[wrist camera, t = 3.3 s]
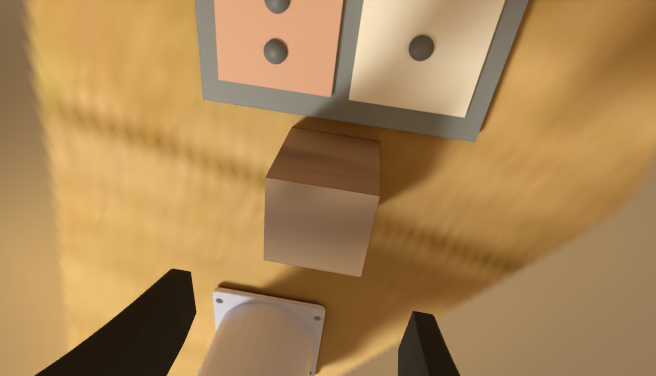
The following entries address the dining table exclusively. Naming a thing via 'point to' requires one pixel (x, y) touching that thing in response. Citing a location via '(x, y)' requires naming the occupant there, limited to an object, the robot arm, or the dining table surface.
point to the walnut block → (322, 201)
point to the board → (360, 59)
